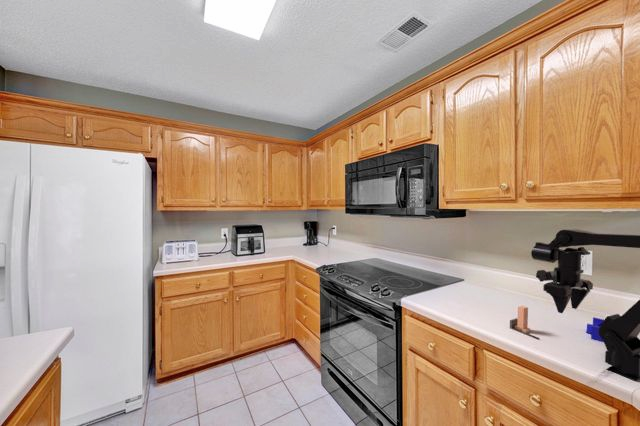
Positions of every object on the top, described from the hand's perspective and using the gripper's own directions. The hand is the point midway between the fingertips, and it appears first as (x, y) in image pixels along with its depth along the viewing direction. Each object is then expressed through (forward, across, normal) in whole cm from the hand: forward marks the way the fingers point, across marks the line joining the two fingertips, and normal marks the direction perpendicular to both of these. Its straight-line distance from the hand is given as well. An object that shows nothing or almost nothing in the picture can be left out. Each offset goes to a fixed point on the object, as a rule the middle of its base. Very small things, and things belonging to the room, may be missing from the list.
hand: (567, 310), depth 90 cm
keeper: (+12, +3, -12) cm, 17 cm away
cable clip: (+13, -19, +1) cm, 23 cm away
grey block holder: (+13, +4, -10) cm, 17 cm away
